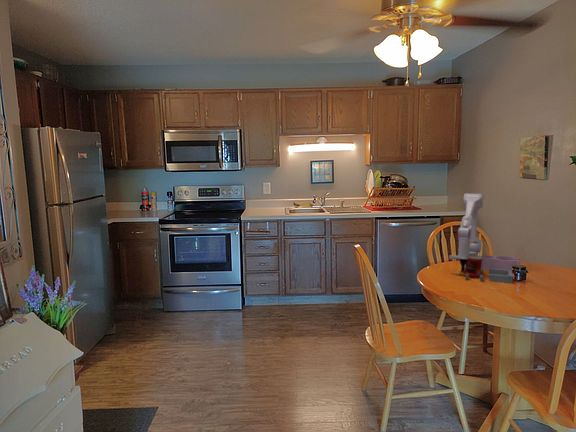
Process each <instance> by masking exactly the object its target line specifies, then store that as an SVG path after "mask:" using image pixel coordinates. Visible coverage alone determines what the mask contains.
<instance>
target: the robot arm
mask: <svg viewBox="0 0 576 432" xmlns="http://www.w3.org/2000/svg"><path fill="white" fill-rule="evenodd" d="M462 199H463V203H464V204H463V205H464V206H465V215H464V216H462V219H461V223H460V226H459V227H458V230H457V239H458V251H457V252H458V253H457V255H456V254H454V255H453V254H451V255H450V254H449V256H448V257H449V258H448V259H449V260H459V263H460V266H461V267H460V268H461V269H460V274H465V266H466V262H467V259H468V256H469V255H470V254H472V255H478V254H480V253H481V251H482V240H481V238H479V237H478V236H477V234H478V233H477V231H478V230H477V229H478V219H479V211H480V209H483V206H484V194H483V193H468V192H467V193H466V192H465V193H464V195H463V198H462ZM478 256H479V255H478Z"/></svg>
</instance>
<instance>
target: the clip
mask: <svg viewBox="0 0 576 432" xmlns="http://www.w3.org/2000/svg"><path fill="white" fill-rule="evenodd" d="M480 256H481V257H482V264H481V268H483V270H485V271H489V268H491V269H503V270H511V272H512V266H514V265H518V266H520V267H521V258H519V257H514V256H509V255H508V256H507V255H487V254H486V255H480Z"/></svg>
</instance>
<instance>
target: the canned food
mask: <svg viewBox="0 0 576 432" xmlns="http://www.w3.org/2000/svg"><path fill="white" fill-rule="evenodd" d="M481 256H482V255H472V254H470V255H469V256H468V259H467V262H466V266H465V273H464V276H466V274H469V278H475V279H477V278H480V275H481V274H480V270H481V264H482V257H481Z"/></svg>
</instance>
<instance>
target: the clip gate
mask: <svg viewBox="0 0 576 432" xmlns="http://www.w3.org/2000/svg"><path fill="white" fill-rule="evenodd" d="M484 276H485V275H484V269H483V268H481V270H480V276H479V282H484Z"/></svg>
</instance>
